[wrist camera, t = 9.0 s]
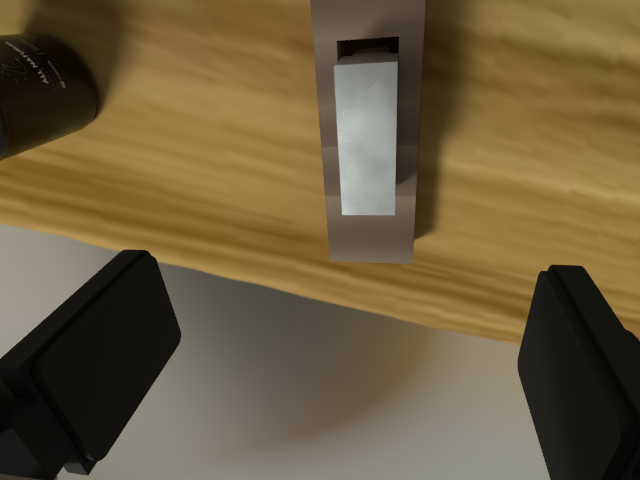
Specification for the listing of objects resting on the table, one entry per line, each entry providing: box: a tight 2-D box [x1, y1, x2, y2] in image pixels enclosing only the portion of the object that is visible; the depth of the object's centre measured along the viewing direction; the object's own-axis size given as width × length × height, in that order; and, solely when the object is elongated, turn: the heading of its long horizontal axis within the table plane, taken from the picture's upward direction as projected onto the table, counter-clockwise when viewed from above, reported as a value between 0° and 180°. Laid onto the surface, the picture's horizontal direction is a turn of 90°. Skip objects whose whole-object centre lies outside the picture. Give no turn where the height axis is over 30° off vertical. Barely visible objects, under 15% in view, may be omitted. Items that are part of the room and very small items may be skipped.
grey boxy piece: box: [334, 47, 398, 215], centre depth 24 cm, size 8×3×7 cm, turn 5°
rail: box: [310, 0, 426, 264], centre depth 25 cm, size 20×6×3 cm, turn 5°
